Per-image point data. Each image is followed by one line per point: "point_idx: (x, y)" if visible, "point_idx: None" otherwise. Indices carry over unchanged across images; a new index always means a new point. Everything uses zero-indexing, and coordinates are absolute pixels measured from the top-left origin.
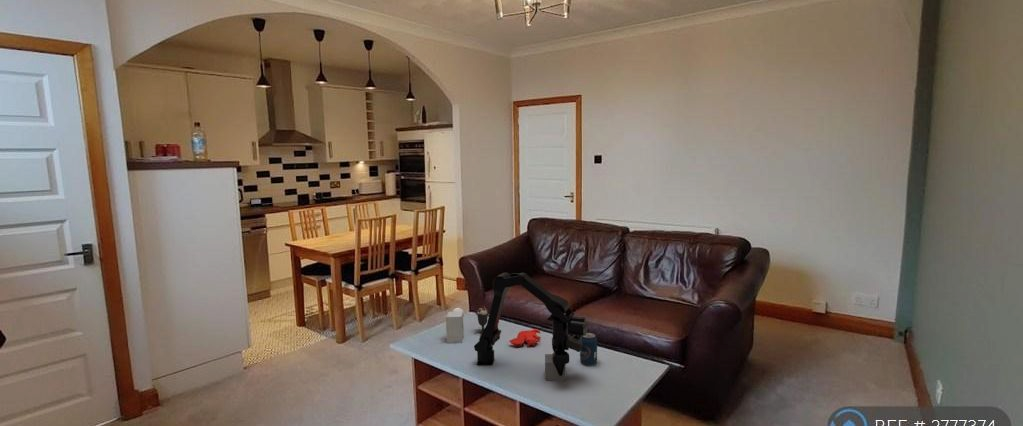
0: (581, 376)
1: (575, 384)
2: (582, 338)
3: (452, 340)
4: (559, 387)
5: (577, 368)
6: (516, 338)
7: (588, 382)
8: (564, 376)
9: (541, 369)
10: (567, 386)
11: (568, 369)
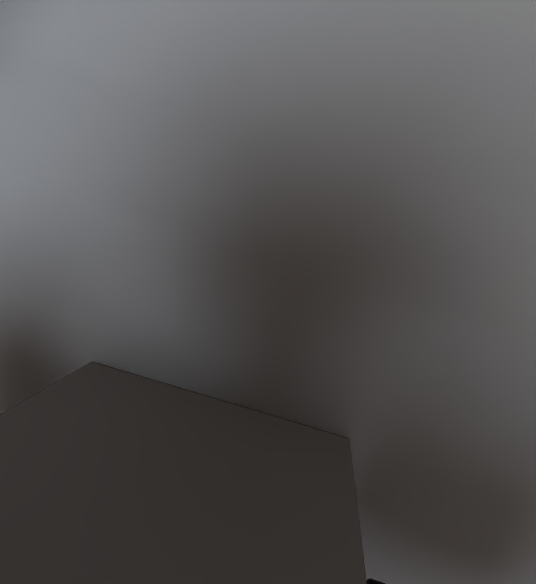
0: (266, 166)
1: (496, 338)
2: None
3: None
4: (506, 569)
5: (19, 156)
6: None
7: (502, 103)
8: (352, 501)
9: None
10: (517, 466)
11: (39, 292)
